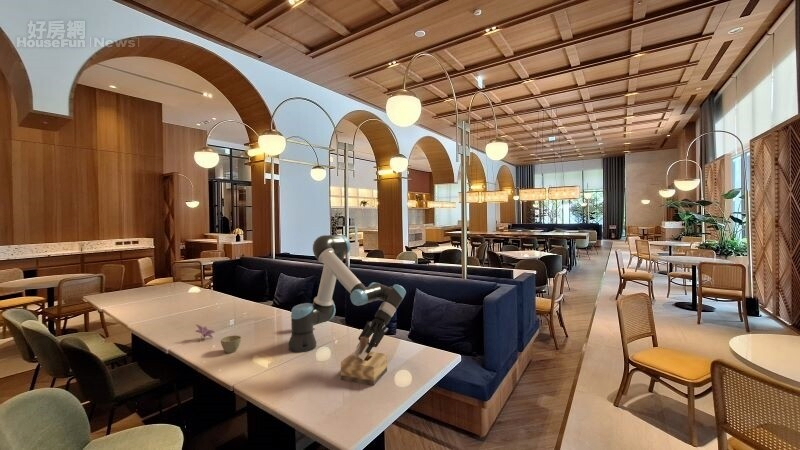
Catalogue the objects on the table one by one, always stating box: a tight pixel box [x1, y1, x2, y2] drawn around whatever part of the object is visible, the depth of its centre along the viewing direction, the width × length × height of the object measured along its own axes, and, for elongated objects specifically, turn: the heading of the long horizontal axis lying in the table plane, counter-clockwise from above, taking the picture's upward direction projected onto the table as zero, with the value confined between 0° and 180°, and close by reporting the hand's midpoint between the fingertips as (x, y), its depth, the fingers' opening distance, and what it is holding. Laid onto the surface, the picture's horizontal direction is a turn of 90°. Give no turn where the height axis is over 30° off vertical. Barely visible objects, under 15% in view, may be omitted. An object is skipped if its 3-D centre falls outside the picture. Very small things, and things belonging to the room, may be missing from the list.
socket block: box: [340, 351, 388, 386], centre depth 155 cm, size 16×15×8 cm
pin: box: [359, 336, 370, 361], centre depth 155 cm, size 4×4×12 cm
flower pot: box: [220, 334, 242, 354], centre depth 184 cm, size 10×10×7 cm
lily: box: [194, 323, 216, 343], centre depth 202 cm, size 12×12×10 cm
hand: (358, 357), depth 153 cm, fingers closed on pin, 4 cm apart
